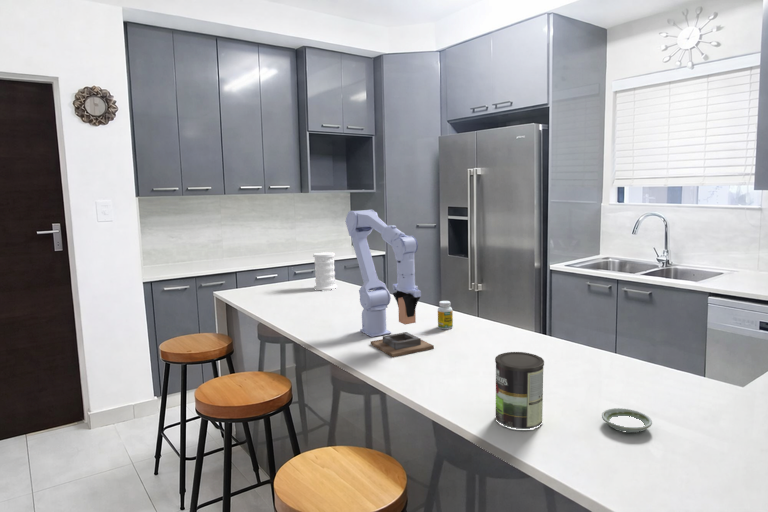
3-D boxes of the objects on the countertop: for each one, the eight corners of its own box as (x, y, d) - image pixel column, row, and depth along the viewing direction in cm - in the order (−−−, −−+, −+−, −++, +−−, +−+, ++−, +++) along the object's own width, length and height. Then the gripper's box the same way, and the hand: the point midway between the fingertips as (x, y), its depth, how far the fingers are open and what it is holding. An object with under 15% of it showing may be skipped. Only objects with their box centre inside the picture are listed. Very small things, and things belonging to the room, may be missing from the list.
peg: (398, 321, 170) (398, 297, 169) (409, 319, 172) (408, 296, 171) (405, 324, 166) (404, 300, 165) (415, 322, 168) (415, 298, 167)
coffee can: (503, 433, 109) (503, 369, 107) (489, 411, 119) (489, 352, 117) (551, 430, 110) (552, 366, 108) (533, 409, 120) (533, 350, 118)
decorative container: (311, 291, 259) (309, 255, 257) (318, 286, 270) (316, 252, 268) (333, 291, 257) (332, 255, 255) (339, 286, 269) (338, 251, 266)
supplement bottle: (446, 324, 192) (445, 299, 190) (455, 328, 187) (455, 302, 186) (434, 327, 189) (434, 301, 187) (444, 330, 184) (444, 304, 183)
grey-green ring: (636, 416, 115) (637, 406, 115) (661, 438, 105) (661, 427, 105) (593, 418, 115) (593, 408, 114) (614, 440, 105) (614, 429, 105)
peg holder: (370, 344, 171) (370, 335, 171) (409, 336, 178) (409, 328, 178) (392, 357, 158) (392, 347, 158) (433, 348, 165) (433, 339, 164)
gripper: (428, 275, 162) (429, 317, 164) (405, 269, 175) (406, 308, 177) (409, 278, 159) (410, 321, 161) (386, 271, 172) (387, 311, 173)
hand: (406, 315), depth 169 cm, fingers closed on peg, 4 cm apart
